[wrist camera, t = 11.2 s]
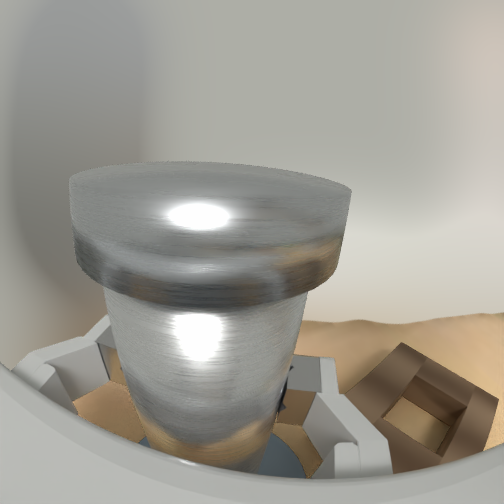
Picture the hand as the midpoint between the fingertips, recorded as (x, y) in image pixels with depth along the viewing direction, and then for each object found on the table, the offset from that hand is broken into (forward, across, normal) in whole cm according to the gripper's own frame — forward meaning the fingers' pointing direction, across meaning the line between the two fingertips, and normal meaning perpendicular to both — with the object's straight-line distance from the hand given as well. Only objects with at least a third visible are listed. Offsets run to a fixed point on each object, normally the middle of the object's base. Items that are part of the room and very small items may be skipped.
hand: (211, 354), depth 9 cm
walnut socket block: (+5, -16, +12) cm, 21 cm away
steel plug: (-1, 0, +8) cm, 8 cm away
